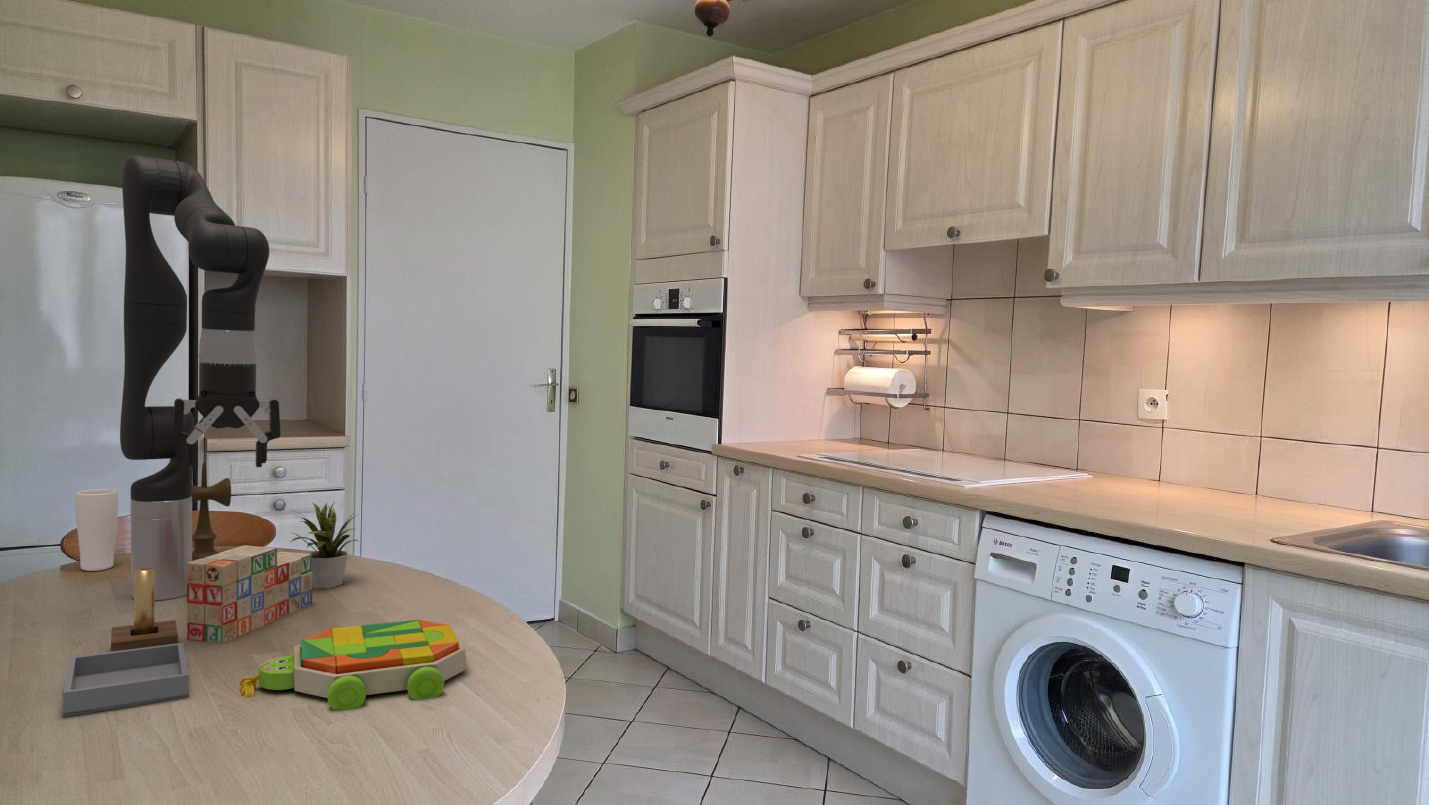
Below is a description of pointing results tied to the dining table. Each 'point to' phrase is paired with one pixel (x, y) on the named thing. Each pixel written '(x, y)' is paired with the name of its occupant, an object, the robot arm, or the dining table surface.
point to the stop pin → (144, 601)
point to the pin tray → (125, 679)
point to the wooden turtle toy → (366, 663)
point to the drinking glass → (96, 527)
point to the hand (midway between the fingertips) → (226, 467)
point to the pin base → (143, 636)
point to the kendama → (204, 531)
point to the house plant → (327, 549)
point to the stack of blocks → (244, 591)
